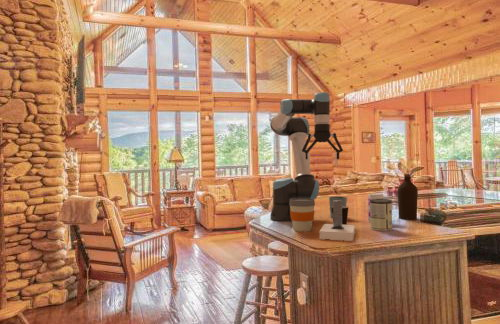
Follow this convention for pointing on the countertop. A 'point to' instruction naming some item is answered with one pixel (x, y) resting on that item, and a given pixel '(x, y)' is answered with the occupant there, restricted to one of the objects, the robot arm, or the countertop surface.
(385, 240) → the countertop surface
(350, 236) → the block with square hole
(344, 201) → the drinking glass
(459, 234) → the countertop surface
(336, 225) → the steel pin
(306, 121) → the robot arm
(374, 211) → the coffee can
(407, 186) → the olive oil
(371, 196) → the supplement can
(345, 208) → the coffee mug
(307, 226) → the reusable coffee cup
